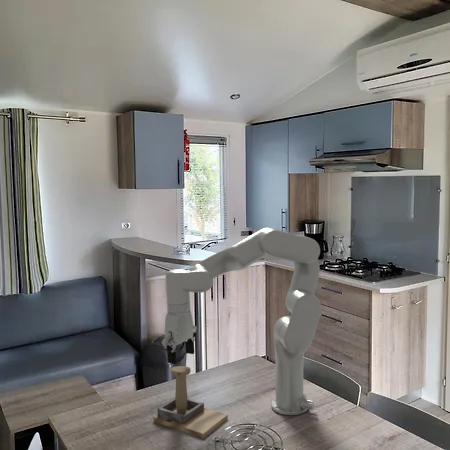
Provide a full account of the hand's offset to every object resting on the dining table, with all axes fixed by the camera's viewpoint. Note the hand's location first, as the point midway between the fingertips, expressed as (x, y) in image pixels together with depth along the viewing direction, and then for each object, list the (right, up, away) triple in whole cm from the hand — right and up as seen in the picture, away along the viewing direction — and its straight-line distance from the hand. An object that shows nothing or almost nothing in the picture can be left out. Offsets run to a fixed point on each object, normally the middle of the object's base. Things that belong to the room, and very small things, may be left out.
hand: (181, 358), depth 155 cm
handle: (0, -19, +2) cm, 19 cm away
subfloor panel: (+3, -20, -1) cm, 21 cm away
